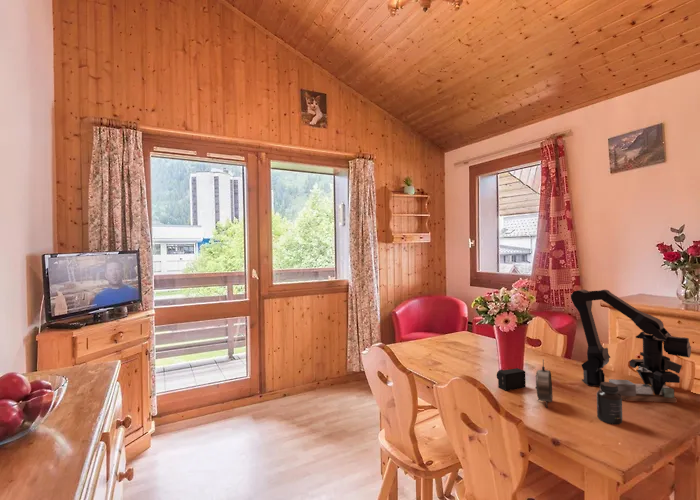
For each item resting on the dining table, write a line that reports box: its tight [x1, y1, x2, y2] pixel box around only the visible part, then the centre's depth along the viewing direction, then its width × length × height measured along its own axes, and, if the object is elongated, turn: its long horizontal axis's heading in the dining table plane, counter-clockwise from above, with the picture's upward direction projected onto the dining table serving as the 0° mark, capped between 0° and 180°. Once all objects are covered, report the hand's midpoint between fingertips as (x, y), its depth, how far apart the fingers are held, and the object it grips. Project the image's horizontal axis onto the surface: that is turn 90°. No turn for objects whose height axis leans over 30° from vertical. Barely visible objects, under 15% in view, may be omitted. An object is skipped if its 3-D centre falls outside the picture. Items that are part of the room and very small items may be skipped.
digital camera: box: [496, 367, 527, 392], centre depth 148 cm, size 10×5×7 cm, turn 109°
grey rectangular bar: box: [634, 383, 671, 395], centre depth 134 cm, size 13×3×3 cm, turn 81°
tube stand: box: [608, 379, 678, 404], centre depth 134 cm, size 20×6×6 cm, turn 81°
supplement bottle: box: [596, 381, 623, 426], centre depth 118 cm, size 7×7×12 cm
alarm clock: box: [535, 358, 553, 409], centre depth 132 cm, size 11×5×16 cm, turn 148°
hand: (653, 393), depth 134 cm, fingers closed on grey rectangular bar, 3 cm apart
